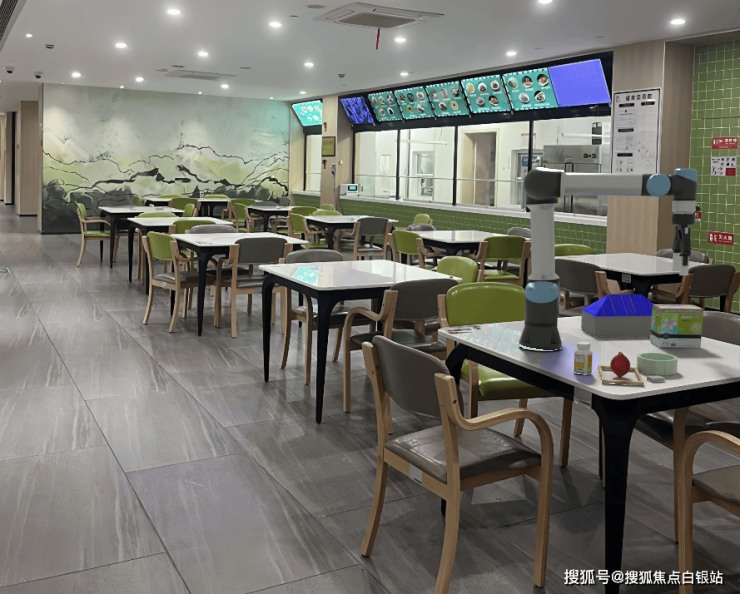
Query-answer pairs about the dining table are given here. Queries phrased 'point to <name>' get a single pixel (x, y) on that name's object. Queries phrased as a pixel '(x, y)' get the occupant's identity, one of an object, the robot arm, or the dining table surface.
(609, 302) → the house
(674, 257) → the robot arm
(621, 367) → the onion
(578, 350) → the supplement bottle
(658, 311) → the tea box
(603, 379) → the picture frame
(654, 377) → the stone
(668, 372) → the bowl
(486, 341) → the dining table surface
